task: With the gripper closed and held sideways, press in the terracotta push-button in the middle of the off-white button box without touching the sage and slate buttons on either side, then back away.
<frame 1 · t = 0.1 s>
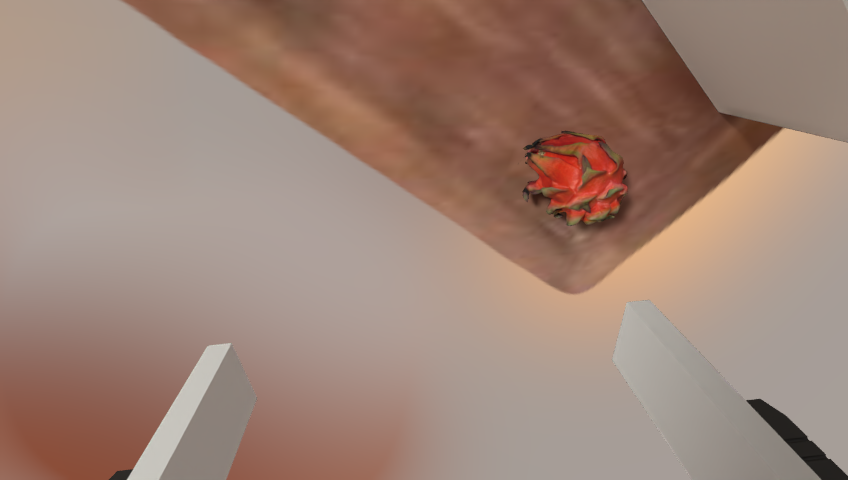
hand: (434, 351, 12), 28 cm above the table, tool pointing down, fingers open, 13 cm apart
dragon fruit: (557, 165, 39), on the table
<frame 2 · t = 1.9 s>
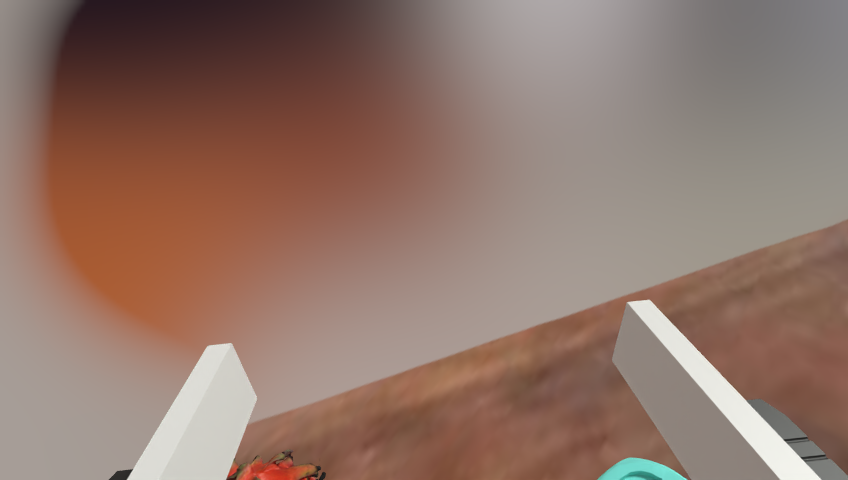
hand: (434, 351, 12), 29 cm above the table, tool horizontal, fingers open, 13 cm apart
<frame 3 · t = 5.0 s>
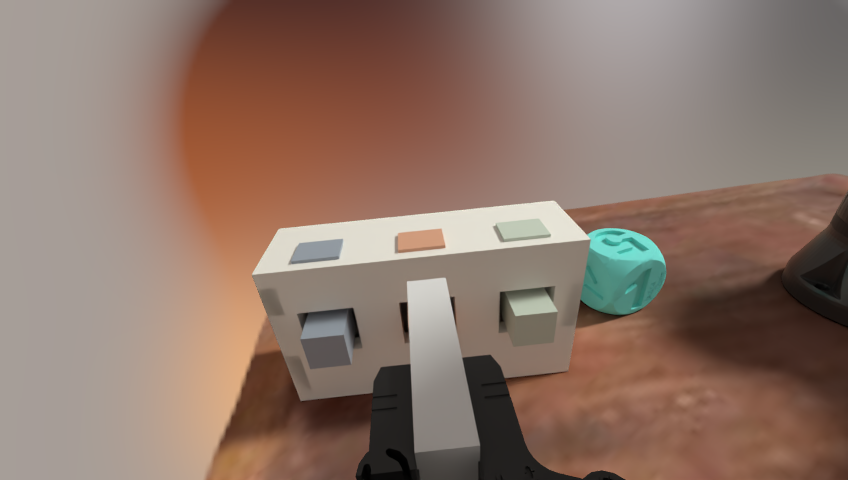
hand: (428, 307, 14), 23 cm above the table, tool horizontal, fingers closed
decorative dice: (608, 296, 48), on the table
button box: (431, 356, 41), on the table
slate button: (330, 331, 33), point 9 cm above the table, slide at 0.0 cm
terracotta button: (429, 320, 33), point 9 cm above the table, slide at 0.0 cm
sage button: (526, 310, 33), point 9 cm above the table, slide at 0.0 cm
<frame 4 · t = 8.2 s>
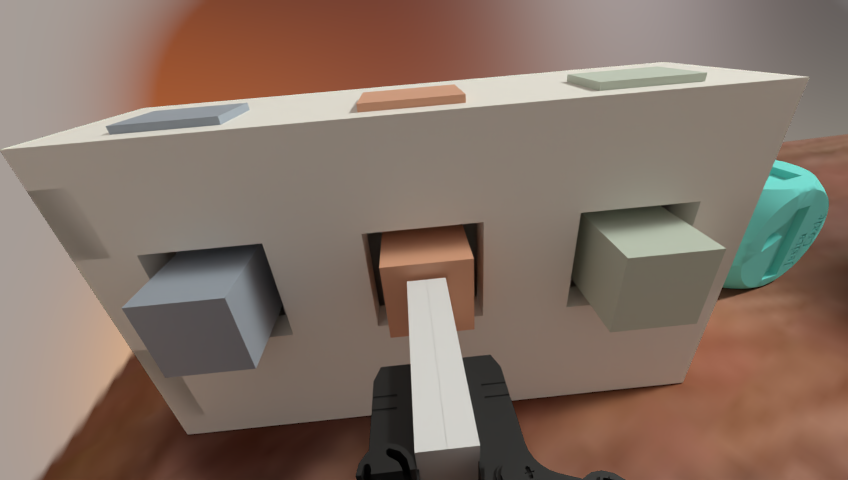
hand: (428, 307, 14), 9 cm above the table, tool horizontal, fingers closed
decorative dice: (708, 263, 31), on the table
button box: (432, 353, 24), on the table
slate button: (221, 298, 16), point 9 cm above the table, slide at 0.0 cm
terracotta button: (425, 266, 17), point 9 cm above the table, slide at 1.0 cm, touching gripper
sage button: (628, 258, 16), point 9 cm above the table, slide at 0.0 cm
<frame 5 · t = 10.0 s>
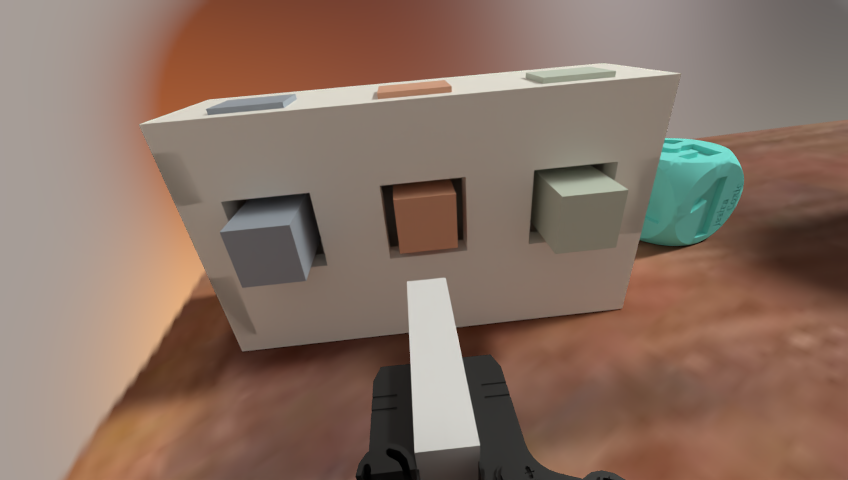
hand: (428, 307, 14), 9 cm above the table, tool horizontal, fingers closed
decorative dice: (657, 228, 37), on the table
button box: (430, 295, 30), on the table
slate button: (277, 235, 22), point 9 cm above the table, slide at 0.0 cm
terracotta button: (423, 207, 24), point 9 cm above the table, slide at 1.9 cm
sage button: (571, 205, 22), point 9 cm above the table, slide at 0.0 cm
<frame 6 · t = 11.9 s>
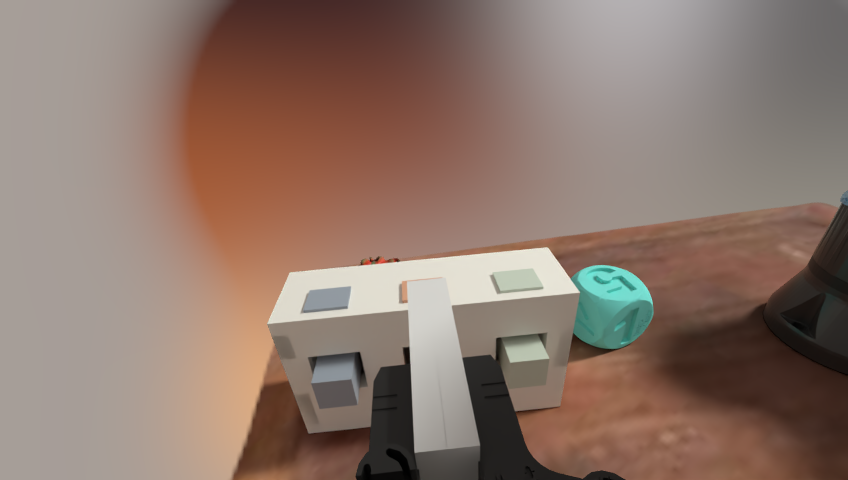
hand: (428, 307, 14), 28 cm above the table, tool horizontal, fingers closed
decorative dice: (599, 329, 51), on the table
button box: (432, 389, 44), on the table
slate button: (338, 372, 36), point 9 cm above the table, slide at 0.0 cm
sage button: (520, 353, 36), point 9 cm above the table, slide at 0.0 cm
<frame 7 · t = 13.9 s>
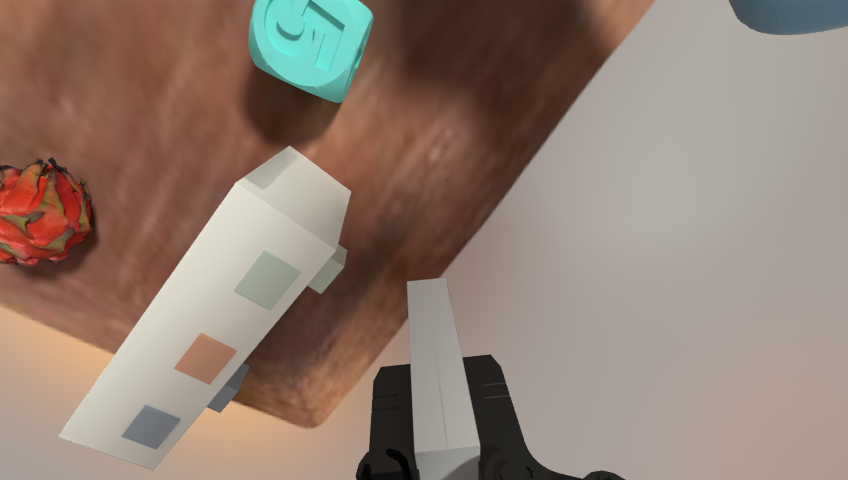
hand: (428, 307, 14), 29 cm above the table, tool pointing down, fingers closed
decorative dice: (320, 44, 36), on the table
button box: (252, 259, 43), on the table
slate button: (213, 378, 38), point 9 cm above the table, slide at 0.0 cm
sage button: (312, 257, 34), point 9 cm above the table, slide at 0.0 cm
dragon fruit: (66, 201, 38), on the table
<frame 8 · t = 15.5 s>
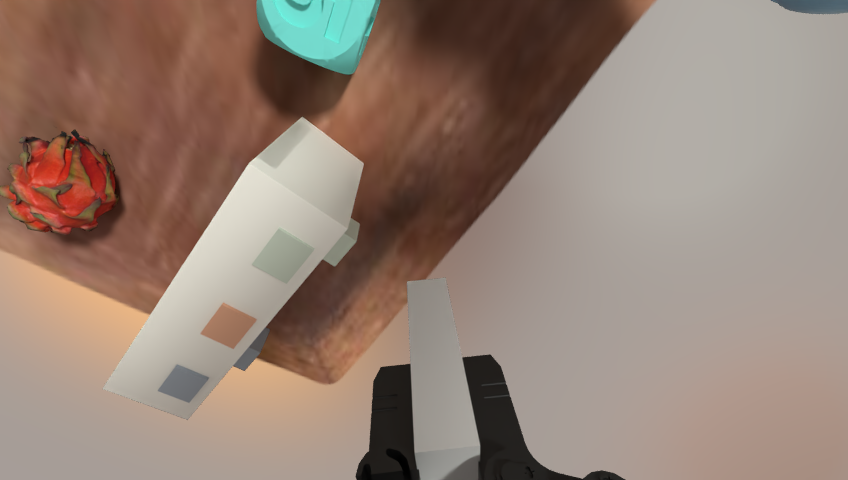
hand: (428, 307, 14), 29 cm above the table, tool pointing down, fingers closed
decorative dice: (331, 9, 34), on the table
button box: (269, 229, 45), on the table
slate button: (237, 340, 41), point 9 cm above the table, slide at 0.0 cm
sage button: (326, 230, 35), point 9 cm above the table, slide at 0.0 cm
dragon fruit: (92, 171, 40), on the table
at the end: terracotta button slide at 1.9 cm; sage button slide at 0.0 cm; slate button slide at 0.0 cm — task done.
